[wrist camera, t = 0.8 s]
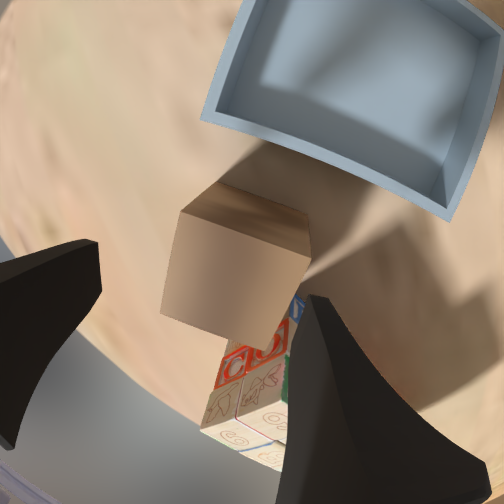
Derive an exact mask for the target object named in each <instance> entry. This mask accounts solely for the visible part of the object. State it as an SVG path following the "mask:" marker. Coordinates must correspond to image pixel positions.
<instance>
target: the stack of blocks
mask: <svg viewBox="0 0 504 504" xmlns="http://www.w3.org/2000/svg"><path fill="white" fill-rule="evenodd" d="M304 307H305V303H304V302H303V301H302V300H301V299H300V298H299V297H298V296H297V295H296V293H295V295H294V297H293V299H292V301H291V303H290V305H289V307H288V309H287V311H286V312H285V314H284V316H283V318H282V320H281V322H280V324H279V326H278V328H277V330H276V332H275V334H274V336H273V338H272V339H271V341H270V343H269V345H268V347H267V349H266V351H262V350H259V349H256V348H253V347H250V346H247V345H244V344H241V343H238V342H235V341H232V340H229V339H228V343H227V346H226V350H225V353H224V357H223V359H222V361H221V364H220V368H219V371H218V375H217V378H216V382H215V386H214V390H213V392H212V393H211V394H210V397H209V401H208V404H207V407H206V410H205V413H204V417H203V420H202V423H201V426H200V431H201V432H202V433H204V434H206V435H208V436H210V437H211V438H213V439H215V440H217V441H219V442H221V443H223V444H224V445H226V446H228V447H230V448H232V449H234V450H238V452H239V453H240V454H242V455H244V456H246V457H249V458H251V459H253V460H255V461H257V462H259V463H261V464H264V465H266V466H269V467H271V468H273V469H275V470H277V471H280V472H282V467H283V460H284V454H285V447H286V440H287V420H288V365H289V357H290V350H291V342H292V339H293V337H294V334H295V331H296V329H297V326H298V323H299V321H300V318H301V315H302V312H303V309H304Z"/></svg>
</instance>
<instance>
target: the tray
mask: <svg viewBox="0 0 504 504" xmlns="http://www.w3.org/2000/svg"><path fill="white" fill-rule="evenodd" d="M503 67H504V30H503V29H502V28H501V27H500V26H499V25H497V24H496V23H495V22H494V21H493V20H491V19H490V18H489V17H488V16H487V15H485V14H484V13H483V12H481V11H480V10H479V9H478V8H476V7H475V6H474V5H472V4H471V3H469V2H468V1H467V0H243V2H242V4H241V7H240V9H239V11H238V14H237V16H236V19H235V21H234V23H233V26H232V28H231V31H230V34H229V36H228V39H227V41H226V44H225V47H224V49H223V52H222V55H221V57H220V60H219V63H218V66H217V69H216V72H215V74H214V77H213V80H212V83H211V86H210V89H209V92H208V95H207V98H206V101H205V105H204V108H203V111H202V114H201V117H200V120H202V121H205V122H209V123H213V124H216V125H220V126H223V127H226V128H230V129H233V130H236V131H239V132H243V133H246V134H249V135H252V136H255V137H258V138H261V139H264V140H267V141H270V142H273V143H276V144H278V145H281V146H284V147H287V148H289V149H292V150H295V151H298V152H300V153H303V154H305V155H308V156H311V157H313V158H316V159H318V160H321V161H323V162H326V163H328V164H330V165H333V166H335V167H338V168H340V169H342V170H345V171H347V172H349V173H352V174H354V175H356V176H358V177H361V178H363V179H365V180H367V181H369V182H371V183H374V184H376V185H378V186H380V187H382V188H384V189H386V190H388V191H390V192H392V193H394V194H396V195H398V196H400V197H402V198H404V199H406V200H408V201H410V202H412V203H414V204H416V205H418V206H420V207H422V208H423V209H425V210H427V211H429V212H431V213H433V214H434V215H436V216H438V217H440V218H442V219H443V220H445V221H447V222H449V223H450V221H451V219H452V217H453V215H454V213H455V211H456V209H457V206H458V204H459V202H460V200H461V198H462V195H463V193H464V191H465V189H466V186H467V184H468V181H469V179H470V177H471V174H472V172H473V169H474V167H475V164H476V161H477V159H478V156H479V153H480V151H481V148H482V145H483V142H484V139H485V136H486V133H487V130H488V127H489V123H490V120H491V117H492V113H493V110H494V106H495V102H496V99H497V95H498V90H499V86H500V82H501V77H502V72H503Z"/></svg>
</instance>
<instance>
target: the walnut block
mask: <svg viewBox="0 0 504 504" xmlns="http://www.w3.org/2000/svg"><path fill="white" fill-rule="evenodd" d="M311 260H312V254H311V244H310V235H309V226H308V217H307V214H305V213H302V212H300V211H297V210H294V209H292V208H289V207H286V206H284V205H281V204H278V203H276V202H273V201H270V200H267V199H265V198H262V197H259V196H256V195H253V194H251V193H248V192H245V191H242V190H239V189H236V188H233V187H230V186H228V185H225V184H222V183H219V182H215V183H214V184H212V185H211V186H210V187H209V188H207V189H206V190H205V191H204V192H203V193H201V194H200V195H199V196H198V197H197V198H195V199H194V200H193V201H192V202H191V203H190V204H188V205H187V206H186V207H185V208H184V209H183V210H181V211H180V215H179V219H178V224H177V228H176V233H175V237H174V242H173V246H172V251H171V256H170V261H169V266H168V271H167V276H166V281H165V287H164V292H163V298H162V304H161V310H160V313H161V314H163V315H166V316H168V317H170V318H173V319H175V320H178V321H181V322H183V323H186V324H188V325H191V326H193V327H196V328H199V329H201V330H204V331H207V332H209V333H212V334H215V335H218V336H221V337H223V338H226V339H229V340H232V341H235V342H238V343H241V344H244V345H247V346H250V347H253V348H256V349H259V350H262V351H266V349H267V347H268V345H269V343H270V341H271V339H272V338H273V336H274V334H275V332H276V330H277V328H278V326H279V324H280V322H281V320H282V318H283V316H284V314H285V312H286V311H287V309H288V307H289V305H290V303H291V301H292V299H293V297H294V295H295V293H296V291H297V289H298V287H299V284H300V282H301V280H302V278H303V276H304V274H305V272H306V270H307V268H308V266H309V264H310V262H311Z"/></svg>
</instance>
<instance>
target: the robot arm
mask: <svg viewBox="0 0 504 504" xmlns="http://www.w3.org/2000/svg"><path fill="white" fill-rule="evenodd" d="M101 292H102V284H101V274H100V263H99V249H98V242H95V241H91V240H88V239H80V240H75V241H71V242H67V243H64V244H60V245H57V246H54V247H51V248H47V249H44V250H41V251H38V252H35V253H32V254H29V255H25V256H22V257H19V258H16V259H13V260H9V261H6V262H2V263H0V445H1V446H2V447H3V448H4V449H5V450H13V449H14V448H15V443H16V439H17V436H18V432H19V429H20V425H21V422H22V419H23V416H24V413H25V411H26V408H27V406H28V403H29V401H30V398H31V396H32V394H33V392H34V390H35V388H36V386H37V384H38V382H39V380H40V378H41V376H42V374H43V373H44V371H45V369H46V368H47V365H48V364H49V362H50V361H51V359H52V358H53V356H54V355H55V354H56V352H57V351H58V350H59V349H60V347H61V346H62V345H63V344H64V342H65V341H66V340H67V339H68V337H69V336H70V335H71V334H72V332H73V331H74V330H75V329H76V328H77V326H78V325H79V324H80V323H81V322H82V320H83V319H84V318H85V317H86V315H87V314H88V313H89V312H90V310H91V308H92V307H93V305H94V304H95V302H96V301H97V299H98V297H99V296H100V294H101ZM0 484H2V485H3V486H4V487H5V488H6V489H8V490H9V491H10V492H11V493H13V494H14V495H15V496H16V497H18V498H19V499H20V500H22V501H23V502H24V503H26V504H63V503H61V502H59V501H58V500H56V499H55V498H53V497H51V496H50V495H48V494H47V493H45V492H44V491H42V490H41V489H39V488H38V487H36V486H35V485H33V484H32V483H31V482H29V481H28V480H26V479H25V478H23V477H22V476H21V475H20V474H18V473H17V472H16V471H14V470H13V469H12V468H11V467H10V466H8V465H7V464H6V463H4V462H3V461H2V460H1V459H0ZM491 494H492V490H491V485H490V481H489V476H488V472H487V468H486V464H485V462H483V461H482V460H480V459H478V458H477V457H475V456H474V455H472V454H470V453H469V452H467V451H465V450H464V449H462V448H461V447H459V446H458V445H456V444H455V443H453V442H452V441H450V440H449V439H448V438H447V437H445V436H444V435H443V434H441V433H440V432H439V431H437V430H436V429H435V428H434V427H432V426H431V425H430V424H429V423H428V422H426V421H425V420H424V419H423V418H422V417H421V416H420V415H419V414H418V413H417V412H416V411H414V410H413V409H412V408H411V407H410V406H409V405H408V404H407V403H406V402H405V401H404V400H403V399H402V398H401V397H400V396H399V395H398V394H397V393H396V392H395V390H394V389H393V388H392V387H391V386H390V385H389V384H388V383H387V381H386V380H385V379H384V378H383V377H382V376H381V374H380V373H379V372H378V371H377V370H376V368H375V367H374V366H373V364H372V363H371V362H370V360H369V359H368V358H367V356H366V355H365V354H364V352H363V351H362V349H361V348H360V347H359V345H358V344H357V342H356V341H355V339H354V338H353V336H352V335H351V333H350V332H349V330H348V329H347V327H346V326H345V324H344V323H343V321H342V319H341V318H340V316H339V315H338V313H337V312H336V310H335V308H334V307H333V305H332V304H331V302H330V301H329V299H328V298H325V297H320V296H315V295H311V294H309V295H308V298H307V301H306V304H305V307H304V309H303V312H302V315H301V318H300V321H299V323H298V326H297V329H296V331H295V334H294V337H293V339H292V342H291V350H290V357H289V365H288V420H287V440H286V447H285V454H284V460H283V467H282V472H281V478H280V484H279V488H278V494H277V498H276V503H275V504H482V503H483V502H484V501H486V500H487V499H488V498H489V497H490V496H491ZM9 501H10V496H9V495H8V494H7V493H6V491H5V490H4V489H3V488H2V487H0V504H8V503H9Z"/></svg>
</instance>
